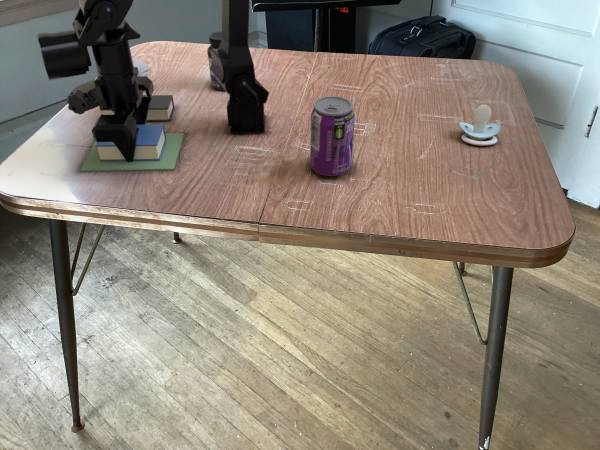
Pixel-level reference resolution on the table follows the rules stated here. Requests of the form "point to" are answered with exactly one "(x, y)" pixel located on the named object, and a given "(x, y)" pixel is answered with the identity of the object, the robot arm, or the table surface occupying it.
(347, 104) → the beverage can
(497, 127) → the pacifier
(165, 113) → the black notebook
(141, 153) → the blue book
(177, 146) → the green mat
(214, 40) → the pill bottle
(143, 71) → the frog figurine
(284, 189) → the table surface
